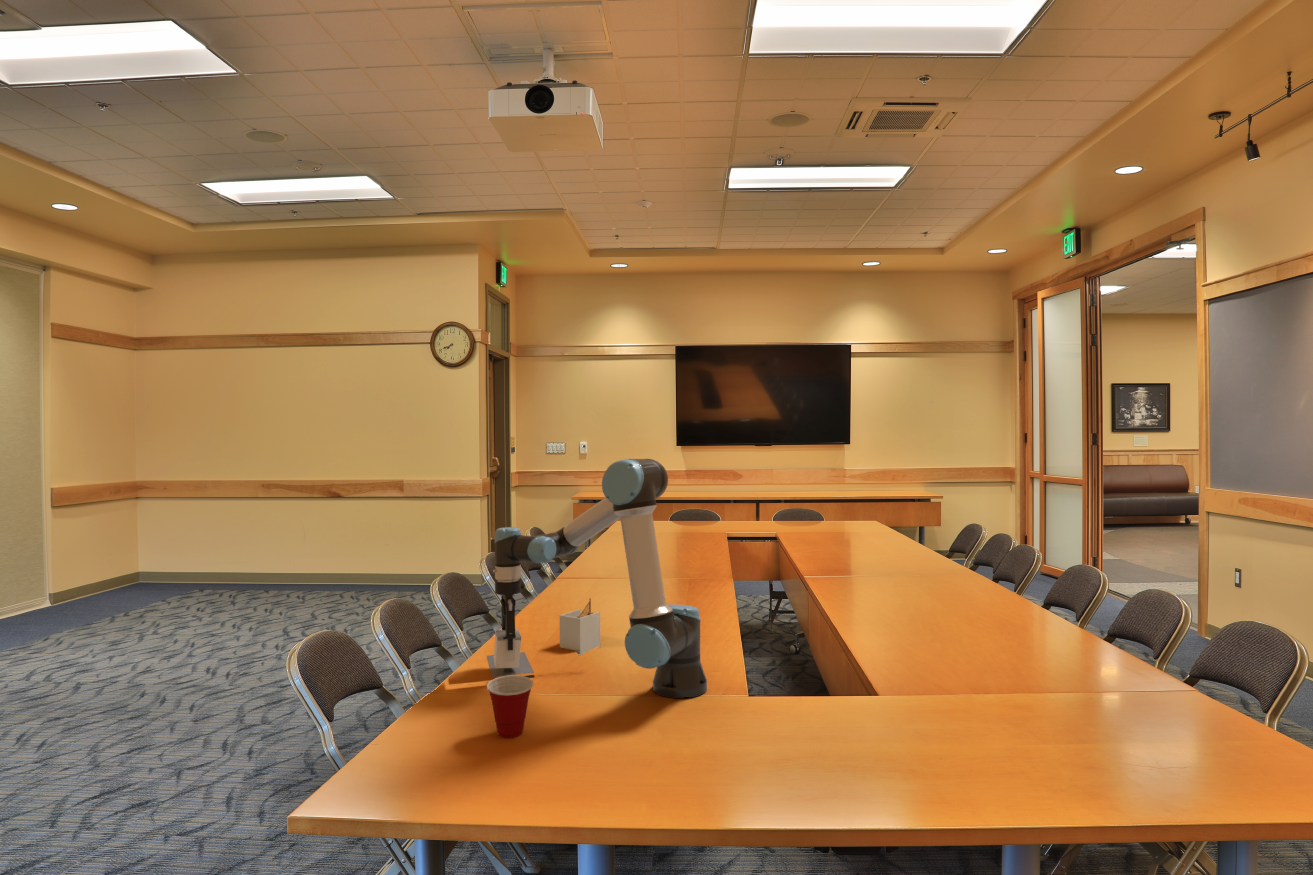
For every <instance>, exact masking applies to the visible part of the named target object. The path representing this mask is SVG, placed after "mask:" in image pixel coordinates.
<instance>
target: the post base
mask: <svg viewBox="0 0 1313 875" xmlns="http://www.w3.org/2000/svg"><path fill="white" fill-rule="evenodd" d="M486 659H487V663H488V666H489V670H490V673H491V677H492V678H493V679H494V678H498V677H502V676H509V675H522V674H528V675H523V676H524V677H528V678H530V679H533V678H535V674H534V673H535V672H534V669H533V668H532V665H531V662H530V661H529V659H528V657H527V655H526V653H525V652H524V651H522V652H521V651H520V661H519V668H495V664H494V654H491V655H486ZM529 674H530V675H529ZM492 678H491V680H493V679H492Z"/></svg>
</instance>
